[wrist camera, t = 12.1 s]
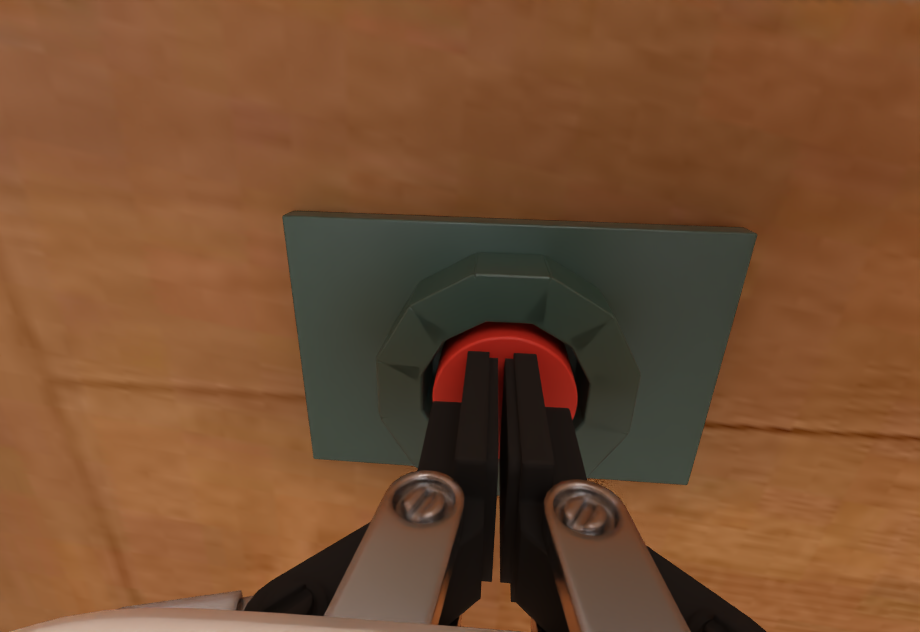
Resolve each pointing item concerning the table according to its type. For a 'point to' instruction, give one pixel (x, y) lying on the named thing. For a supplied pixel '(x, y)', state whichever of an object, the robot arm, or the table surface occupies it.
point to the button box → (514, 301)
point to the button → (502, 345)
